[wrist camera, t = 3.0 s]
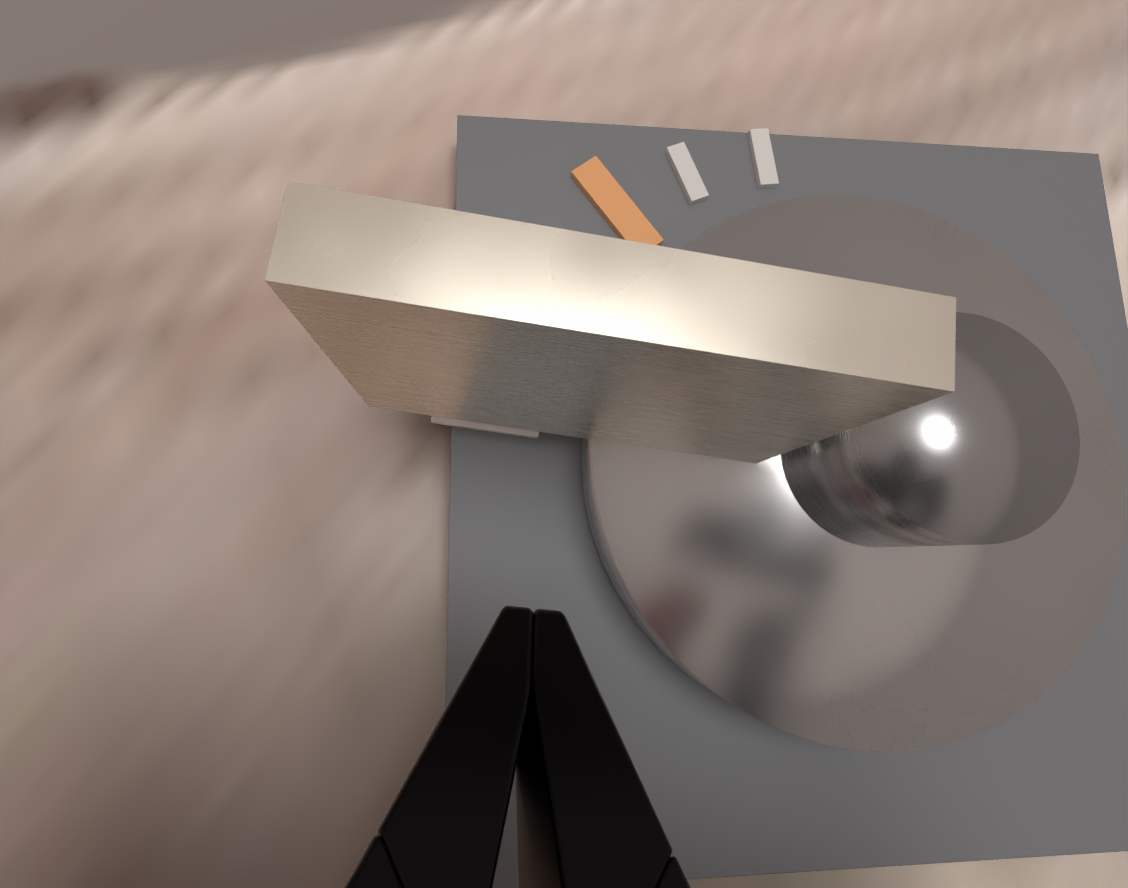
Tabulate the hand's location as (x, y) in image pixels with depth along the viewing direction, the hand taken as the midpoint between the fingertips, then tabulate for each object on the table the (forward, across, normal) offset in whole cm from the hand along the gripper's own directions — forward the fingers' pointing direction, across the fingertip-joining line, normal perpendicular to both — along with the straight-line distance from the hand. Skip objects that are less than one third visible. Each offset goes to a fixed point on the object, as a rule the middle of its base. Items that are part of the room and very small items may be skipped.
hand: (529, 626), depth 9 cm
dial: (+7, -5, +1) cm, 8 cm away
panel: (+8, -7, +2) cm, 11 cm away
